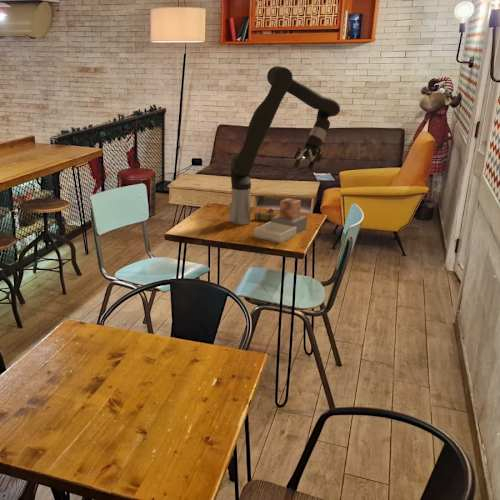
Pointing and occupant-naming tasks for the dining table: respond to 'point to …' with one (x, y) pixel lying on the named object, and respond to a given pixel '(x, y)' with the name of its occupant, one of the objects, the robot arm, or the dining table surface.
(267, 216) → the gavel
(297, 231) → the grey platform
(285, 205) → the terracotta block
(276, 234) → the box
